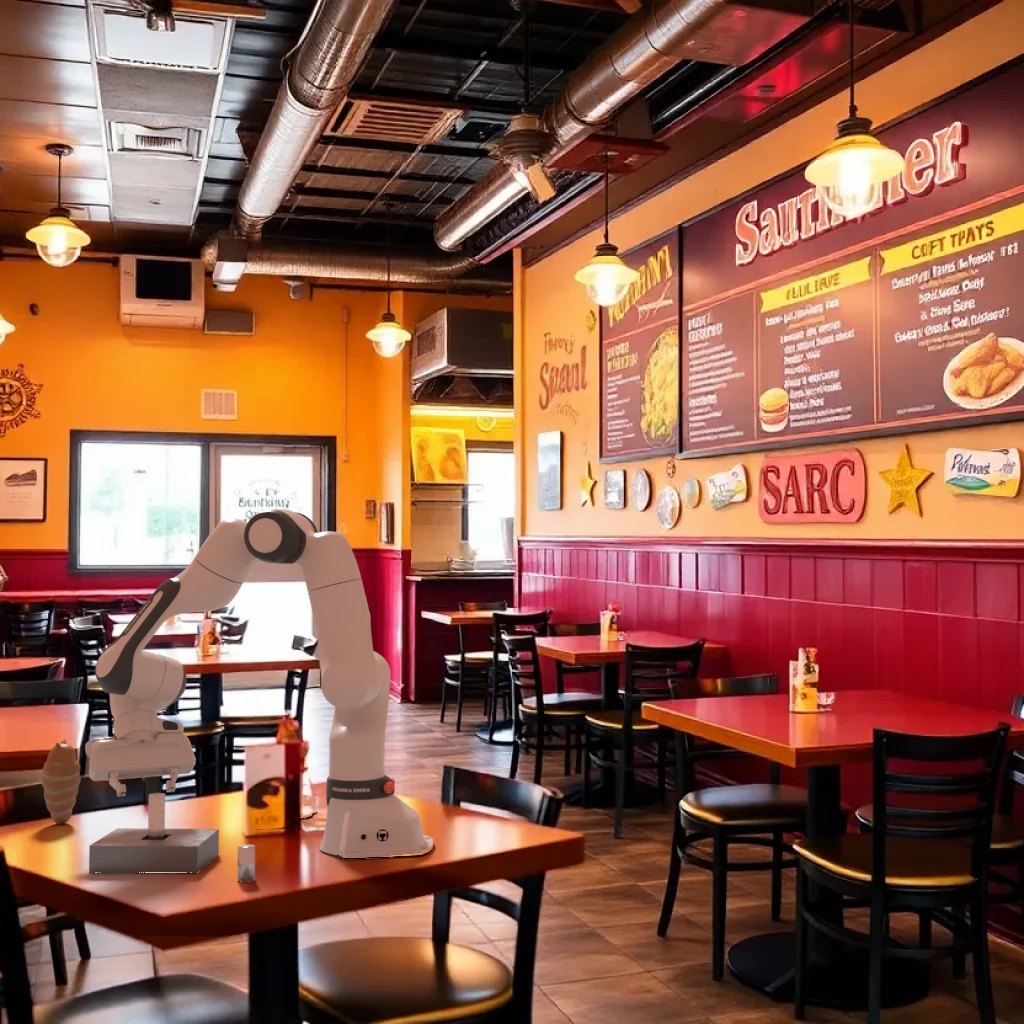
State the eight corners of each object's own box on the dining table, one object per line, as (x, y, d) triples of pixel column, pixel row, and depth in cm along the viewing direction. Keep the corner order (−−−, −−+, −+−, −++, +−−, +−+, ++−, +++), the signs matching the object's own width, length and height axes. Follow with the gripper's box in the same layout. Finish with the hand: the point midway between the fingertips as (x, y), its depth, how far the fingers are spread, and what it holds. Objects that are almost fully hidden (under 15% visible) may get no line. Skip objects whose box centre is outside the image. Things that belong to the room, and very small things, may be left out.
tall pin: (166, 861, 221) (167, 792, 221) (161, 865, 218) (162, 796, 218) (150, 861, 221) (151, 792, 221) (145, 865, 218) (146, 795, 218)
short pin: (256, 878, 209) (256, 844, 209) (252, 882, 206) (252, 848, 206) (240, 878, 209) (240, 844, 210) (235, 882, 206) (235, 848, 206)
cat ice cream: (49, 819, 257) (50, 738, 258) (85, 819, 258) (86, 737, 258) (34, 828, 248) (36, 744, 249) (72, 828, 249) (73, 743, 250)
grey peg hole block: (218, 854, 226) (218, 828, 226) (197, 873, 212) (197, 846, 212) (116, 854, 226) (117, 828, 227) (88, 873, 212) (89, 845, 213)
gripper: (86, 729, 229) (93, 787, 220) (190, 722, 239) (201, 778, 230) (82, 748, 233) (88, 807, 224) (185, 741, 243) (195, 797, 234)
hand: (146, 792), depth 227 cm, fingers open, 8 cm apart
